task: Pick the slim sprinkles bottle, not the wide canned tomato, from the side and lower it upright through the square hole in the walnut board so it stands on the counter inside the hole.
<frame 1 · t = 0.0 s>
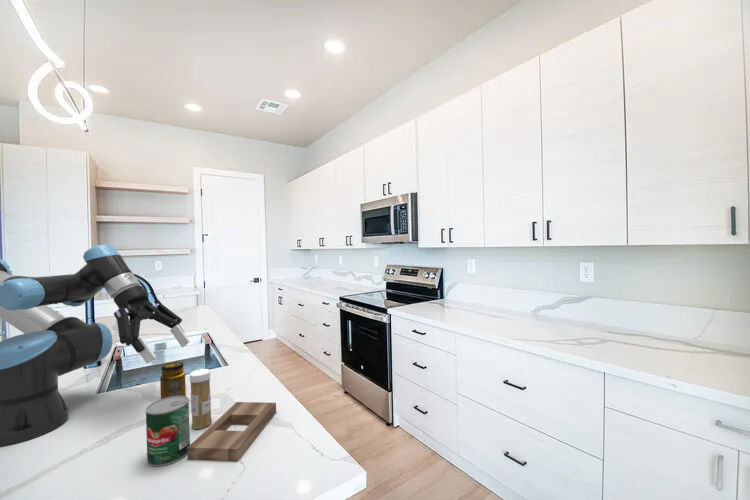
hand: (170, 351, 93), 15 cm above the worktop, tool tilted 35°, fingers open, 13 cm apart
canned tomato: (169, 455, 70), on the worktop
sprinkles bottle: (201, 425, 82), on the worktop
condiment: (172, 408, 91), on the worktop
hole board: (237, 432, 78), on the worktop
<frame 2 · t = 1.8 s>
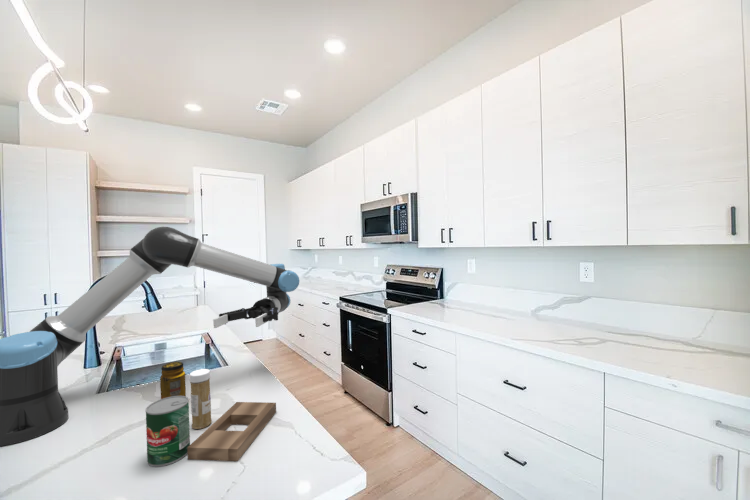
hand: (235, 323, 99), 21 cm above the worktop, tool horizontal, fingers open, 13 cm apart
nothing on the worktop moved.
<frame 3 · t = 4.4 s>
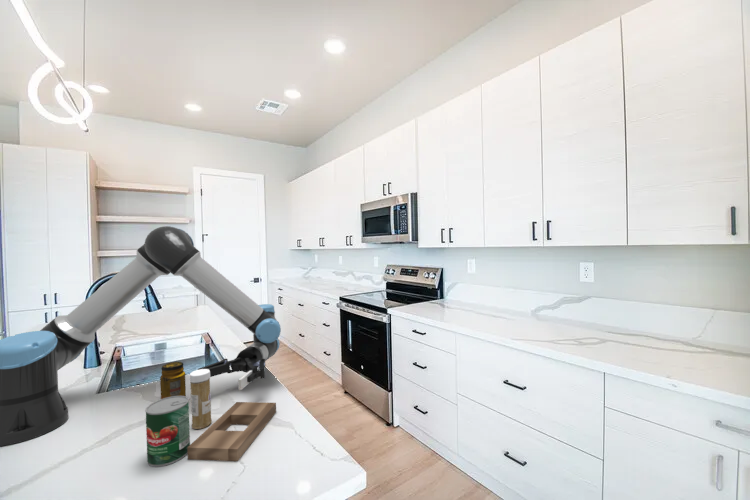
hand: (215, 384, 87), 8 cm above the worktop, tool horizontal, fingers open, 13 cm apart
nothing on the worktop moved.
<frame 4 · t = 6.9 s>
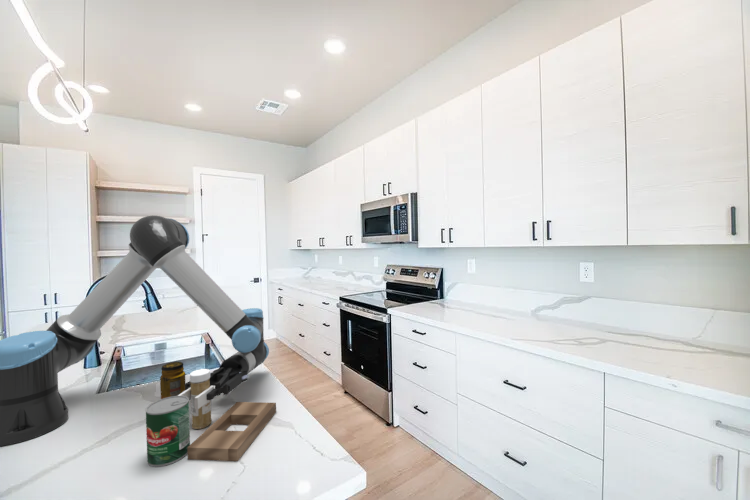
hand: (186, 403, 77), 8 cm above the worktop, tool horizontal, fingers closed on sprinkles bottle, 4 cm apart
sprinkles bottle: (201, 425, 82), on the worktop, touching gripper
everything else where it was.
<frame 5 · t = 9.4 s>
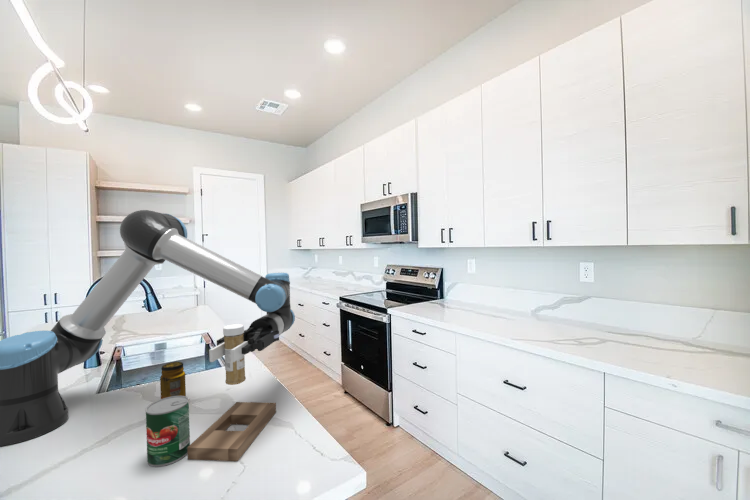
hand: (221, 355, 73), 20 cm above the worktop, tool horizontal, fingers closed on sprinkles bottle, 4 cm apart
sprinkles bottle: (235, 382, 78), point 12 cm above the worktop, touching gripper
everything else where it was.
when the fingers open (9 cm above the worktop, at t = 12.2 s): sprinkles bottle drops 1 cm, resting in hole board.
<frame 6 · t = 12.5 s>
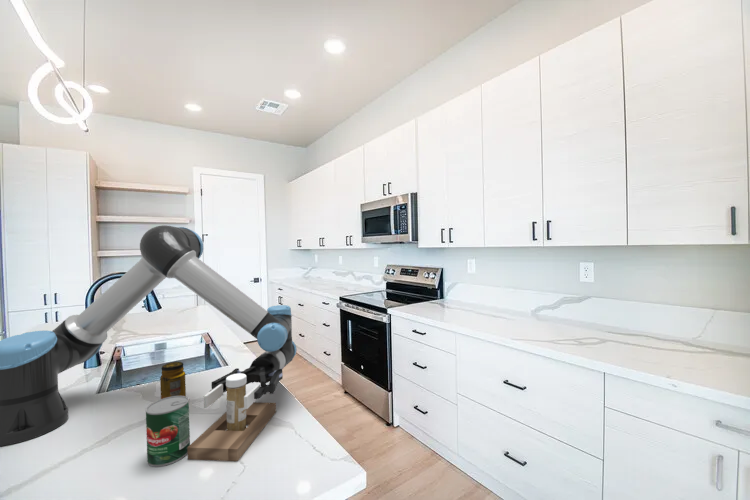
hand: (225, 402, 73), 9 cm above the worktop, tool horizontal, fingers open, 9 cm apart
sprinkles bottle: (236, 433, 78), resting in hole board
everything else where it was.
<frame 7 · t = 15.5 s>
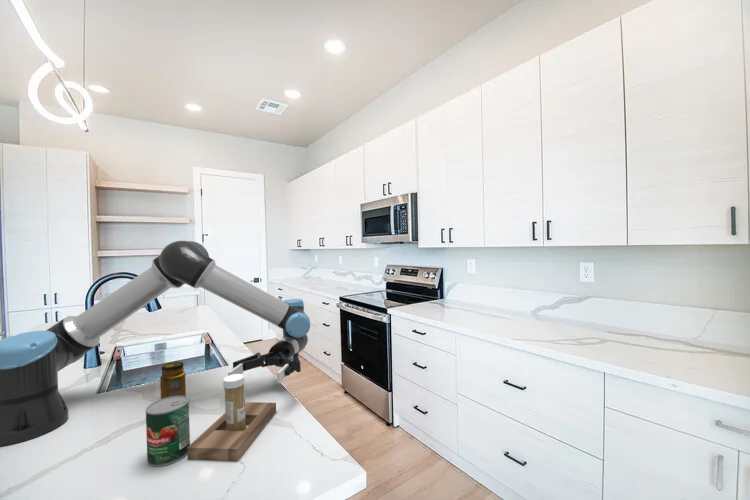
hand: (253, 377, 87), 10 cm above the worktop, tool horizontal, fingers open, 13 cm apart
nothing on the worktop moved.
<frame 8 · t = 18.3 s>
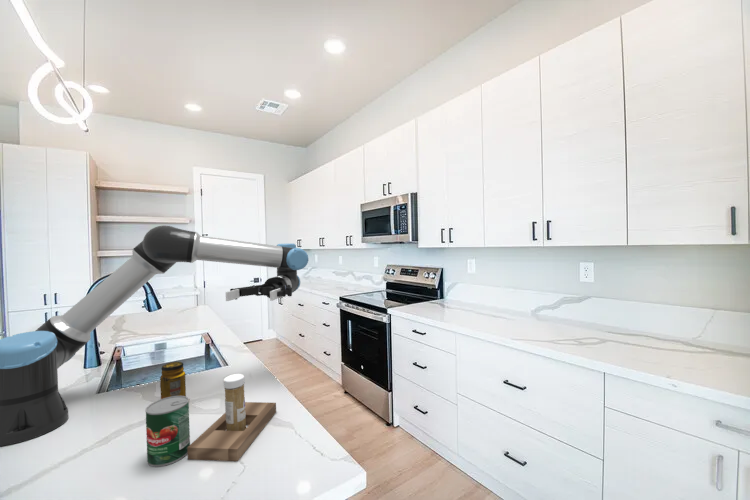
hand: (248, 296, 96), 30 cm above the worktop, tool horizontal, fingers open, 13 cm apart
nothing on the worktop moved.
at the end: sprinkles bottle 0.2 cm off-centre on the hole board, point 0.0 cm above the hole board's base; sprinkles bottle tilted 1°; the gripper is holding nothing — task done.
